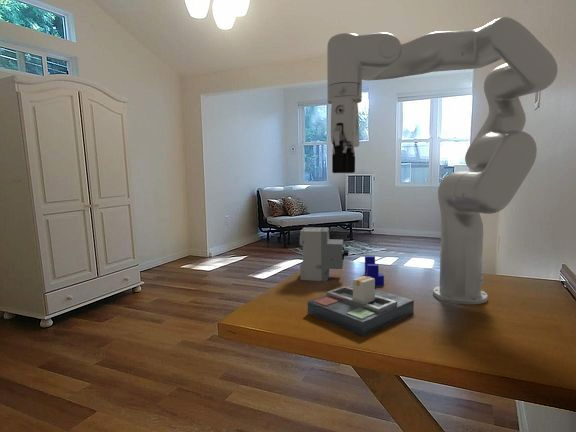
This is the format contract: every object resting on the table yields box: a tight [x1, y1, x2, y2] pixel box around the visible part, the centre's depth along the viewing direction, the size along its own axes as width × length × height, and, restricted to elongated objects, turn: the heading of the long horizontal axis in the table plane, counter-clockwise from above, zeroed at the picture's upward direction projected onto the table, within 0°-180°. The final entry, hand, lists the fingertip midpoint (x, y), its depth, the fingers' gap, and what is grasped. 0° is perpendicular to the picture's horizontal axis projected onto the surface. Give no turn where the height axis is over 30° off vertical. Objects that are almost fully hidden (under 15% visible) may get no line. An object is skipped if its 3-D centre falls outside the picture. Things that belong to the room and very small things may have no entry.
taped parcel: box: [352, 275, 376, 303], centre depth 82 cm, size 4×3×5 cm
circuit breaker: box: [299, 226, 350, 282], centre depth 112 cm, size 8×14×15 cm, turn 78°
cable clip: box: [364, 255, 385, 287], centre depth 109 cm, size 12×4×6 cm, turn 172°
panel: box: [307, 285, 415, 337], centre depth 83 cm, size 18×16×4 cm
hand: (344, 172), depth 83 cm, fingers open, 9 cm apart
